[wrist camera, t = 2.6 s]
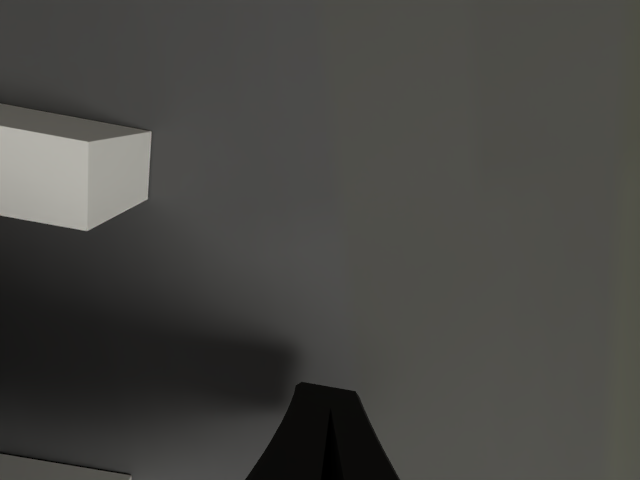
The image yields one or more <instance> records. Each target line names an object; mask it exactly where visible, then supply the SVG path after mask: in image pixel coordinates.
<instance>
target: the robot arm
mask: <svg viewBox="0 0 640 480" xmlns="http://www.w3.org/2000/svg"><path fill="white" fill-rule="evenodd" d="M245 480H400V479H399V477H398V476H397V474H396V472H395V470H394V468H393V466H392V464H391V463H390V461H389V459H388V457H387V455H386V453H385V451H384V450H383V448H382V446H381V444H380V442H379V440H378V438H377V436H376V434H375V431H374V429H373V427H372V425H371V423H370V421H369V419H368V417H367V414H366V412H365V410H364V407H363V405H362V403H361V400H360V398H359V396H358V394H357V393H356V391H351V390H345V389H339V388H333V387H328V386H322V385H316V384H310V383H305V382H301V383H299V384H297V385H296V387H295V392H294V395H293V398H292V401H291V403H290V406H289V408H288V410H287V412H286V414H285V416H284V418H283V420H282V422H281V424H280V426H279V428H278V429H277V431H276V433H275V435H274V436H273V438H272V440H271V442H270V443H269V445H268V447H267V448H266V450H265V451H264V453H263V454H262V456H261V457H260V459H259V460H258V462H257V463H256V465H255V466H254V468H253V469H252V471H251V472H250V474H249V475H248V477H247V478H246V479H245Z"/></svg>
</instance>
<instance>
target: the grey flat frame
mask: <svg viewBox="0 0 640 480" xmlns="http://www.w3.org/2000/svg"><path fill="white" fill-rule="evenodd" d="M151 133H152V131H147V130H141V129H136V128H130V127H125V126H120V125H114V124H109V123H103V122H98V121H93V120H87V119H82V118H77V117H71V116H66V115H60V114H55V113H50V112H44V111H39V110H33V109H28V108H23V107H17V106H12V105H6V104H1V103H0V216H6V217H11V218H17V219H23V220H28V221H34V222H39V223H45V224H51V225H56V226H62V227H67V228H73V229H78V230H84V231H88V230H90V229H92V228H94V227H96V226H98V225H100V224H102V223H104V222H105V221H107V220H109V219H111V218H113V217H115V216H117V215H119V214H121V213H123V212H124V211H126V210H128V209H130V208H132V207H134V206H136V205H138V204H140V203H142V202H143V201H145V200H147V199H148V184H149V167H150V150H151ZM0 480H131V475H125V474H119V473H113V472H107V471H101V470H95V469H89V468H83V467H77V466H71V465H65V464H59V463H53V462H47V461H41V460H35V459H29V458H23V457H17V456H11V455H5V454H0Z"/></svg>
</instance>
